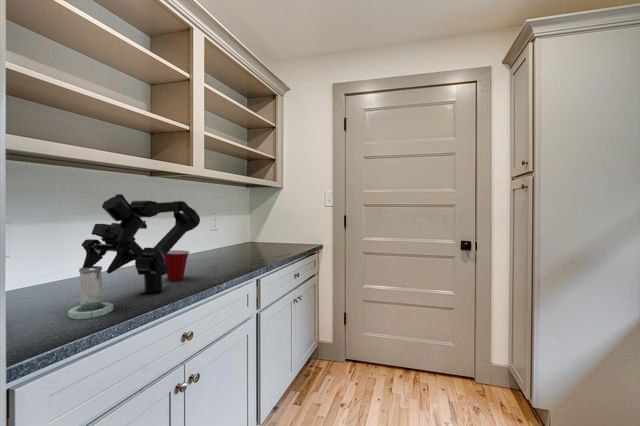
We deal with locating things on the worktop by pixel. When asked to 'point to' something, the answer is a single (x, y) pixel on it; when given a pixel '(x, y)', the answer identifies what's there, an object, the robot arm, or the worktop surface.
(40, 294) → the worktop surface
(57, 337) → the worktop surface
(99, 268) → the glass jar
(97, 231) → the robot arm
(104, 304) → the collar ring
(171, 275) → the plastic cup
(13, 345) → the worktop surface
